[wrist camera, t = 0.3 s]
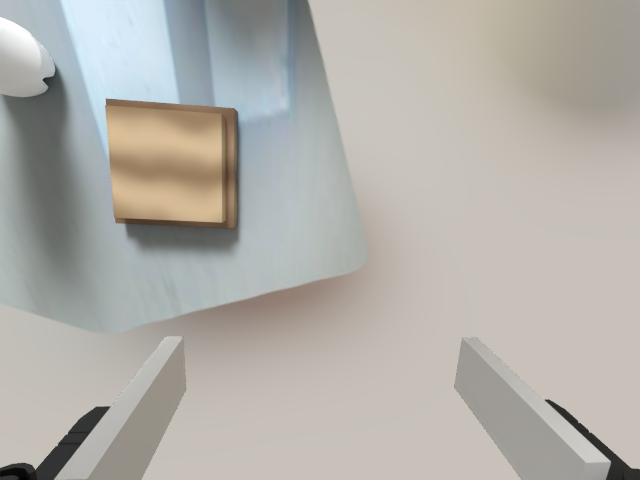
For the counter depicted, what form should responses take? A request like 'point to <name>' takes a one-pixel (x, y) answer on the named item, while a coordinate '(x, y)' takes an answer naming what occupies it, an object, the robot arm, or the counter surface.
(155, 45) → the counter surface
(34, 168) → the counter surface
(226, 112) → the walnut slab
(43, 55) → the water bottle
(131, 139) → the oak slab
